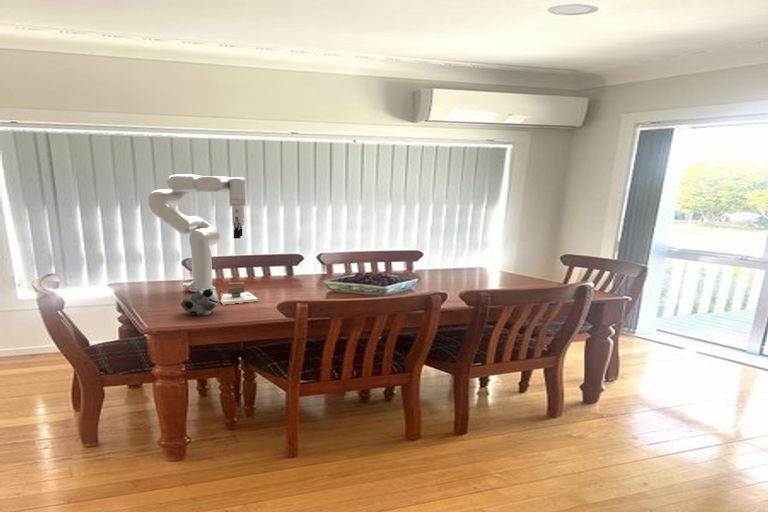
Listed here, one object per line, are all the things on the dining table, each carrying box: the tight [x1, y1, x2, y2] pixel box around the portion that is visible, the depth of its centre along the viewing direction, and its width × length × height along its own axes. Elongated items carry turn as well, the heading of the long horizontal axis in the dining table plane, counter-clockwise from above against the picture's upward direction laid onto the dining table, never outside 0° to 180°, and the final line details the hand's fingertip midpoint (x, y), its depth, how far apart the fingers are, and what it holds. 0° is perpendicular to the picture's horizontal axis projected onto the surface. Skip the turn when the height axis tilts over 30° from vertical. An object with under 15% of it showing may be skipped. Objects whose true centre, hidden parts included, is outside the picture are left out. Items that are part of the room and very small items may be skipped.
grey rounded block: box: [180, 287, 224, 317], centre depth 216 cm, size 15×12×14 cm
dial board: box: [219, 291, 258, 306], centre depth 242 cm, size 16×16×2 cm
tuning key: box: [227, 281, 245, 297], centre depth 245 cm, size 10×7×6 cm
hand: (238, 237), depth 253 cm, fingers open, 9 cm apart
